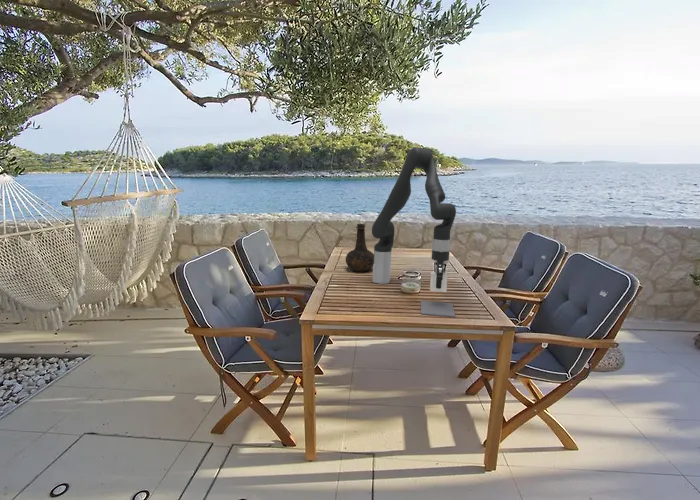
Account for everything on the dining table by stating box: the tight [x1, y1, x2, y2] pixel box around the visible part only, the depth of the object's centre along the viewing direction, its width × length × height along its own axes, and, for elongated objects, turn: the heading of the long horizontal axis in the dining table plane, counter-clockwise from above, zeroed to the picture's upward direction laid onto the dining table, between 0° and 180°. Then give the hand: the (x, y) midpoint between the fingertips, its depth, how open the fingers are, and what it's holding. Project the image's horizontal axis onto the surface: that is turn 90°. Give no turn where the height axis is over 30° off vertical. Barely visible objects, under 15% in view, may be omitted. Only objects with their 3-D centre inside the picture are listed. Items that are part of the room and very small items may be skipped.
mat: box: [420, 300, 456, 318], centre depth 170 cm, size 14×16×1 cm
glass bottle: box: [345, 223, 374, 273], centre depth 231 cm, size 18×18×28 cm
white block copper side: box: [429, 271, 449, 293], centre depth 173 cm, size 7×4×8 cm, turn 80°
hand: (438, 286), depth 173 cm, fingers closed on white block copper side, 3 cm apart
